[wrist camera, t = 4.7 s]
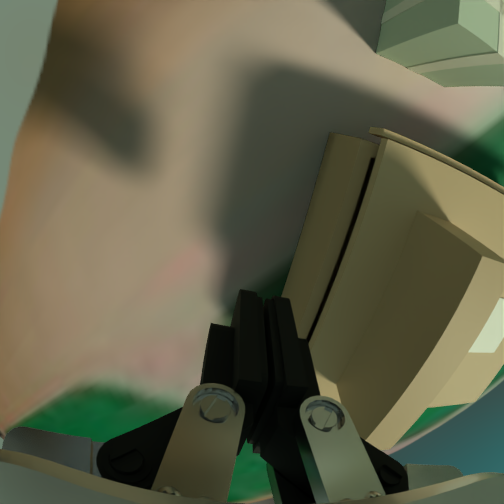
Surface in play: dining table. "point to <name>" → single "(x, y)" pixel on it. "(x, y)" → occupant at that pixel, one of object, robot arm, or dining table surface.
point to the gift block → (446, 40)
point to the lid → (414, 293)
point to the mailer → (328, 227)
